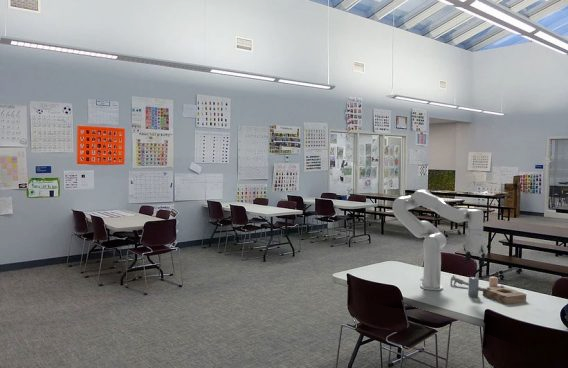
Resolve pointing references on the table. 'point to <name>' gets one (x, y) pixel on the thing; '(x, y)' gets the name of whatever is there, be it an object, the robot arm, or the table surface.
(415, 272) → the table surface
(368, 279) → the table surface
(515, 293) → the jig
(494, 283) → the terracotta sleeve
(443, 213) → the robot arm
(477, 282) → the sleeve
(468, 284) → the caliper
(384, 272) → the table surface
